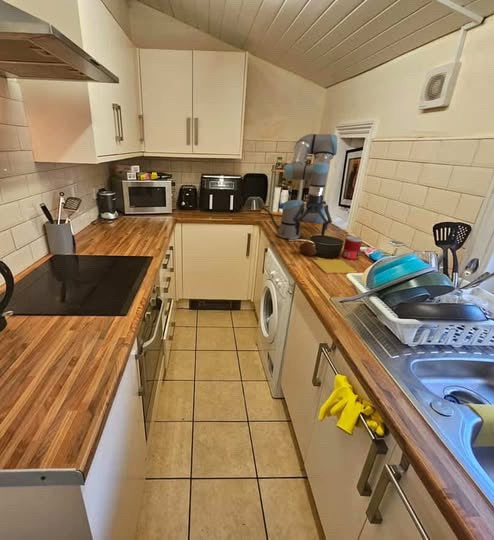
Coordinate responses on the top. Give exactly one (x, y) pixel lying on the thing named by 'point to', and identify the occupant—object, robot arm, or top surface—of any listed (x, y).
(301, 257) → the top surface
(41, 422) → the top surface
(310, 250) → the potato
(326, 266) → the tea towel
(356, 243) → the canned food
